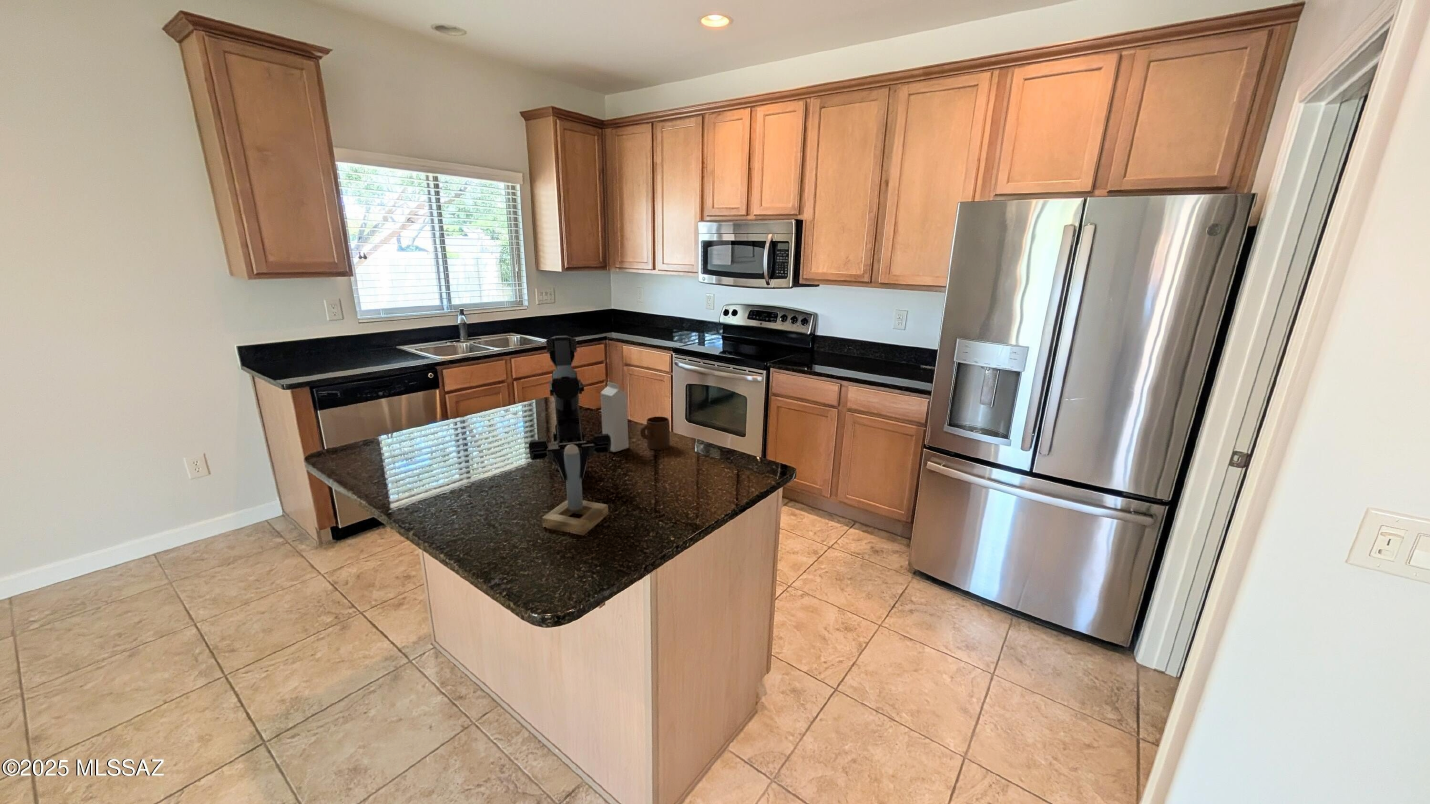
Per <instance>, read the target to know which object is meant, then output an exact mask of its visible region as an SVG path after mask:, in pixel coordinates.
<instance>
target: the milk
mask: <svg viewBox="0 0 1430 804" xmlns="http://www.w3.org/2000/svg"><path fill="white" fill-rule="evenodd" d="M606 384H607V386H606V387H605V388H604V389H602V391H601V392H600V393H599V394H600V407H601V408H600V409H601V412H600V413H601V428H602V429H601V431H602V432H601V433H602V434H607V433H608V434H609V435H610V437H611V449H610V452H612V453H616V452H619V451H622V450H625V449H628V448H629V447H630V446H629V422H628V397H627V395H628V394H627V392H626V391H624V390H621V389H620V385H619V384H618V383H614V382H611V381H607V383H606Z"/></svg>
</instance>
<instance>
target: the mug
mask: <svg viewBox="0 0 1430 804" xmlns="http://www.w3.org/2000/svg"><path fill="white" fill-rule="evenodd" d="M670 429H671V427H670V419H669V417H666V416H653V417H652V416H651V417H648V418H646V424H644V425H642V426H641V428H640V431H639V432H640V437H641V438H642V439H643V440H646V445H647V448H648V449H651V450H655V451H662V450H666V449H667V448H669V447H670V443H671V440H670V439H671V438H670V437H671V435H670V434H671V432H670V431H671V430H670Z"/></svg>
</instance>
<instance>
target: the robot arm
mask: <svg viewBox="0 0 1430 804" xmlns="http://www.w3.org/2000/svg"><path fill="white" fill-rule="evenodd" d="M545 342H546V343H545V344H546V345H545V346H546V353H547V355H548V354H549V359H550V362H551V363H552V365H553V366H554V367H555V369H554V370H553V371H552V373H551V379H552V380H549V396H550V397H553V400H554V401H553V402H554V407H555V408H554V410H555V421H556V422H555V427H554V430H555V431H554V432H552V437H553V439H552V440H553V441H552V442H548V443H547V439H546V438H545V439H543V438H542V439H532V440H529V442H528V452H529V458H530V460H531V461H538V460H539V461H540V460H545V459H546V458H547V460H548V462H553V463H554V464H555V466H556V467H555V469H554V470H555V471H558V472H560V475H561V478H562V479H563V481H564V482H566V474H565V462H564V450H565V448H566V446H568V445H570V444H573V445H576V446H577V447H578V449H579V453H580V468H581V480H584V478H585V477H584V476H585V472H586V468H587V464H588V462H589V460H590V458H593V457H594V456H595V454H608V453H610V452H611V451H610V449H611V437H610V435H609V434H608V433H607V434H603V433H599V434H593V437H592V439H591V440H586V439H587V437H586V433H584V430H583V429H582V425H581V414H580V413H581V412H580V405H579V404H580V395H582V393H583V392H585V386H584V383H583V382H582V381H581V379H579V378H578V372H577V370H575V369H573V368H572V367H573V366H572V364H573V363H574V361H575V358H576V357H575V353H576V354H577V352H578V348H577V347H578V346H577V338H576V337H575V338H574V337H571V336H569V335H554V336H552V337H550V338H549V339H546V340H545Z"/></svg>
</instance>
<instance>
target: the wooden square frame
mask: <svg viewBox="0 0 1430 804" xmlns="http://www.w3.org/2000/svg"><path fill="white" fill-rule="evenodd" d="M572 514H576V515H577V514H578V515H582V516H581V517H580V518H577V517H573V516H572V517H571V515H572ZM608 515H609V505H608V504H605V503H601V502H600V503H599V502H595V501H589V500H583V508H581V509H579V510H569V509H568V502H567V499H566V500H565V501H563V502H562V503H560V504H559V505H558V506H556V507H555V508H553V509H552V510H551V511H549V512H547V513H546V514H545V515H543V516H541V520H542V523H541V524H542V527H543V528H544V527H546V529H549V530H554V531H560V532H565V533H569V532H570V533H569V534H575V535H579V536H584V535H586V534H587V533H588V532H589V531H590V530H591V529H593V528H594V527H595V526H596V525H598V523H600V522H601V521H602V520H603V519H604V518H605V517H607V516H608Z"/></svg>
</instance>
